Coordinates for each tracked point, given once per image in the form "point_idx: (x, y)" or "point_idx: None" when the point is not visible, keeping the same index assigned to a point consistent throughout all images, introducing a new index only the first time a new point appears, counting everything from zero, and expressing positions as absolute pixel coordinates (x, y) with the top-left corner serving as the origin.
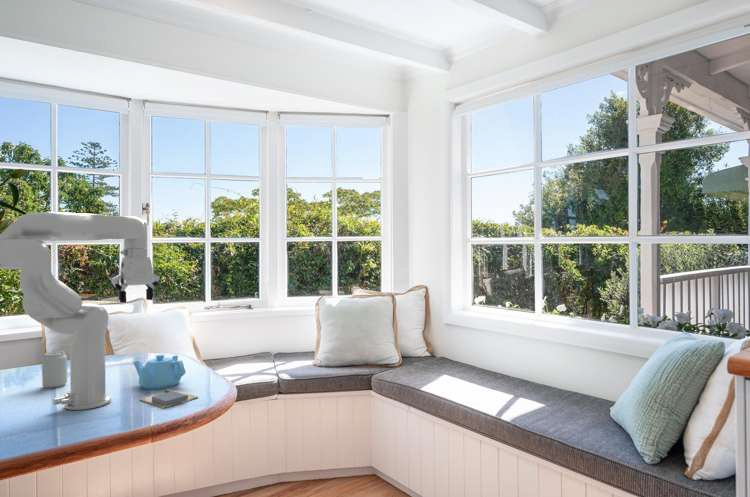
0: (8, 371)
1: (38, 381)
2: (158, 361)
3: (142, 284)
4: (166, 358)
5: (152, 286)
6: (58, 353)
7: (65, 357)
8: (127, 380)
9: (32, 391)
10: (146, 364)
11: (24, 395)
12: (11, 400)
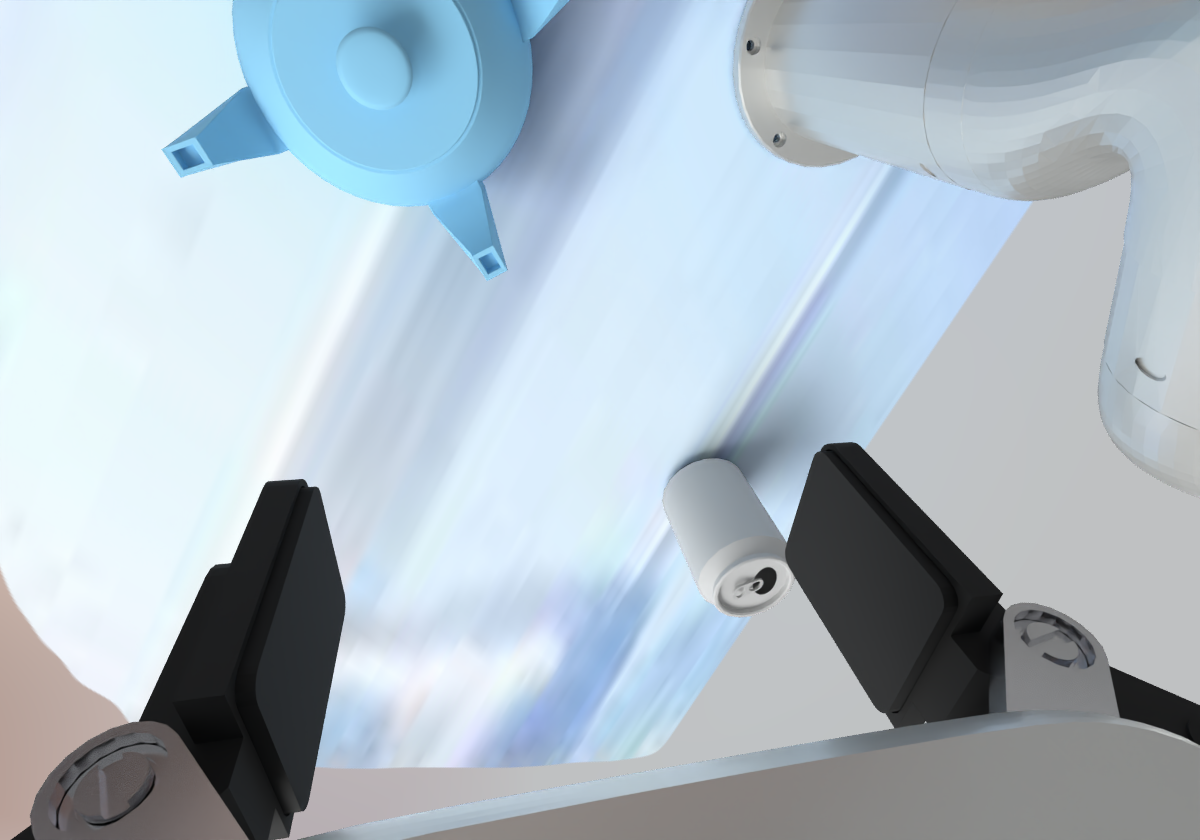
0: (662, 741)
1: (689, 582)
2: (416, 19)
3: (616, 779)
4: (312, 72)
5: (119, 823)
6: (730, 593)
7: (721, 547)
8: (479, 335)
9: (779, 470)
10: (491, 97)
11: (823, 439)
12: (879, 408)
